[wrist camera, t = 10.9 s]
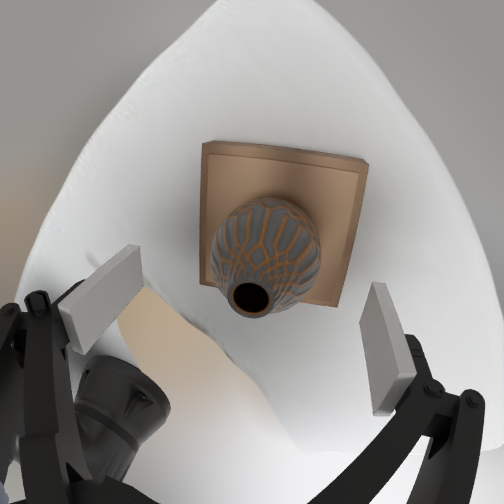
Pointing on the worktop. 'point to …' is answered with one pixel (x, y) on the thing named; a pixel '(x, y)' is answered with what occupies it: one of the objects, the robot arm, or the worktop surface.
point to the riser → (291, 190)
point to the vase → (265, 257)
